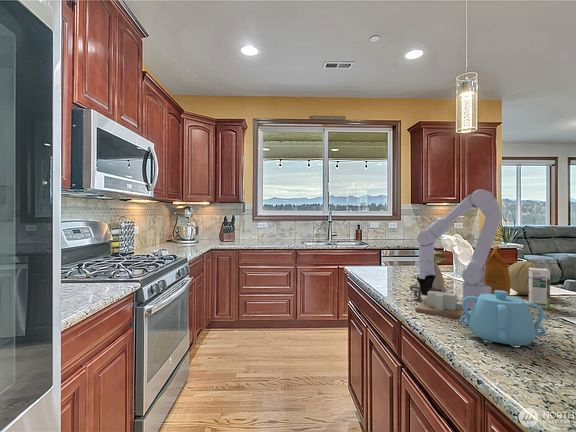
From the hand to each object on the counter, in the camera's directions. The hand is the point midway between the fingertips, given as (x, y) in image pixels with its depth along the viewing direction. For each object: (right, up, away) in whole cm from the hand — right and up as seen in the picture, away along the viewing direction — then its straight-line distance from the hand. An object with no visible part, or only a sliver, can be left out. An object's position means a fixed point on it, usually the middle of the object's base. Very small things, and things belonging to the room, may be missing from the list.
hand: (426, 293), depth 133 cm
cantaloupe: (+48, -3, +10) cm, 49 cm away
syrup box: (+40, -3, -8) cm, 41 cm away
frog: (+11, -3, +15) cm, 18 cm away
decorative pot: (+3, -3, -42) cm, 42 cm away
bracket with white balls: (+1, -2, +2) cm, 3 cm away
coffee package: (+28, -3, 0) cm, 28 cm away
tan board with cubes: (-1, -3, -15) cm, 15 cm away
